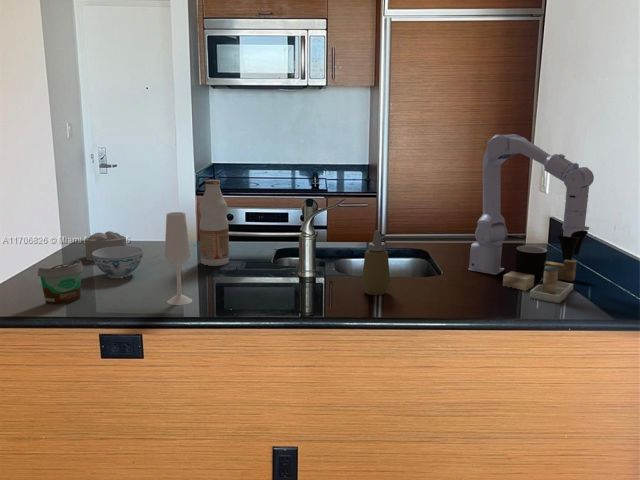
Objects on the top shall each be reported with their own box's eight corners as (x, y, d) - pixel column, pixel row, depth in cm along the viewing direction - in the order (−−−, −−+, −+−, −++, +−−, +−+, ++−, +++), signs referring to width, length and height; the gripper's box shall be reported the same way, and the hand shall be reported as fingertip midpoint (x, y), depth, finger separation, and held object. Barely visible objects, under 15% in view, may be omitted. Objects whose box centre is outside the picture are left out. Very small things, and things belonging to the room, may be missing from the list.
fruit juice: (201, 267, 192) (198, 182, 186) (200, 260, 201) (197, 178, 195) (230, 265, 194) (228, 181, 188) (228, 258, 203) (226, 178, 197)
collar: (545, 289, 171) (545, 285, 170) (551, 285, 176) (551, 280, 175) (567, 293, 167) (568, 288, 167) (573, 288, 172) (573, 283, 172)
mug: (547, 286, 175) (551, 253, 172) (517, 285, 175) (520, 252, 173) (537, 275, 186) (540, 244, 184) (508, 274, 187) (510, 243, 185)
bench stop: (516, 272, 189) (518, 254, 188) (519, 270, 192) (521, 252, 190) (572, 281, 179) (574, 262, 178) (574, 279, 182) (576, 260, 181)
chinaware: (105, 285, 171) (103, 260, 170) (86, 274, 182) (84, 250, 181) (153, 276, 181) (151, 252, 179) (132, 266, 192) (131, 243, 190)
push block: (502, 286, 175) (503, 275, 174) (510, 282, 179) (511, 271, 178) (525, 291, 170) (526, 279, 169) (533, 286, 175) (534, 275, 174)
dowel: (540, 295, 164) (543, 268, 162) (543, 292, 167) (546, 265, 165) (553, 298, 162) (556, 270, 160) (556, 295, 164) (560, 267, 163)
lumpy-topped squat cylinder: (95, 253, 209) (93, 230, 207) (131, 254, 209) (130, 230, 207) (83, 261, 199) (81, 236, 197) (121, 261, 198) (119, 236, 197)
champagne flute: (171, 297, 161) (166, 211, 156) (195, 297, 161) (191, 211, 156) (163, 304, 155) (159, 215, 150) (189, 305, 155) (185, 216, 149)
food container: (54, 309, 151) (51, 271, 149) (40, 304, 154) (36, 268, 152) (95, 296, 161) (92, 261, 159) (81, 292, 164) (78, 258, 162)
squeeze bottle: (392, 290, 169) (394, 229, 165) (386, 298, 162) (388, 234, 158) (365, 287, 172) (366, 227, 168) (357, 295, 164) (359, 232, 160)
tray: (529, 297, 163) (529, 290, 163) (537, 290, 170) (538, 284, 169) (559, 303, 159) (559, 296, 158) (566, 296, 165) (567, 289, 165)
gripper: (584, 215, 158) (579, 264, 161) (596, 208, 169) (591, 254, 172) (557, 212, 162) (552, 260, 165) (570, 206, 173) (566, 250, 176)
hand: (570, 257), depth 169 cm, fingers open, 7 cm apart
